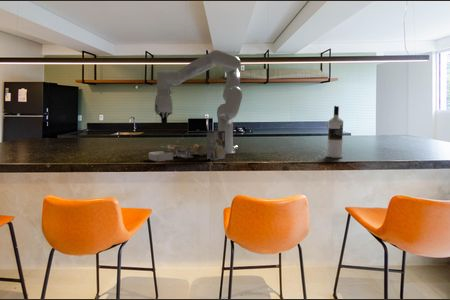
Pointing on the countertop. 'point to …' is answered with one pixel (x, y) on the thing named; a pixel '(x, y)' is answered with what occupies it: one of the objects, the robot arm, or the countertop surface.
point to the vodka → (335, 135)
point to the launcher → (184, 148)
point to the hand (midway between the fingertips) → (164, 124)
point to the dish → (160, 156)
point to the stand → (178, 154)
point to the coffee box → (215, 145)
